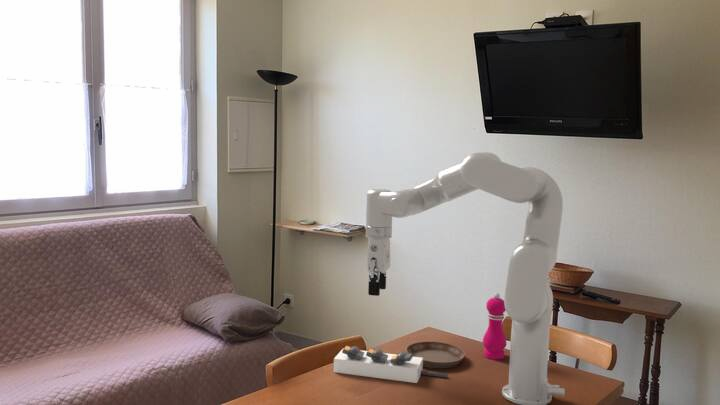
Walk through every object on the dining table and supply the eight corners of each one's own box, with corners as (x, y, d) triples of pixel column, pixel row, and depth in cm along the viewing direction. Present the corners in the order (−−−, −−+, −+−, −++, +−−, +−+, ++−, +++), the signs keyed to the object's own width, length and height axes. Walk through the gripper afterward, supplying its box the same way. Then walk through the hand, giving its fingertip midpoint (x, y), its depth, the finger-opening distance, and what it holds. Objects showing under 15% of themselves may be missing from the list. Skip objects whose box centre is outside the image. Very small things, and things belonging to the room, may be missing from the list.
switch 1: (362, 358, 176) (365, 349, 176) (359, 362, 173) (362, 354, 172) (344, 351, 177) (347, 342, 177) (341, 355, 174) (343, 346, 173)
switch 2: (413, 359, 172) (411, 350, 172) (411, 363, 168) (408, 354, 168) (394, 362, 174) (392, 353, 173) (391, 366, 170) (389, 357, 170)
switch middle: (386, 361, 174) (389, 352, 174) (383, 365, 171) (386, 357, 170) (368, 353, 175) (370, 345, 175) (365, 358, 172) (367, 349, 171)
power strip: (449, 374, 174) (449, 360, 174) (444, 386, 166) (445, 371, 165) (342, 361, 183) (343, 347, 182) (333, 372, 174) (333, 357, 174)
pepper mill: (506, 361, 186) (509, 296, 184) (481, 359, 187) (484, 295, 185) (505, 353, 193) (508, 291, 191) (482, 351, 194) (484, 289, 192)
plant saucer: (463, 352, 193) (464, 343, 193) (465, 373, 176) (465, 363, 176) (407, 348, 196) (408, 339, 196) (403, 369, 179) (403, 358, 178)
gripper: (384, 237, 168) (382, 300, 170) (397, 228, 185) (396, 286, 187) (358, 235, 170) (356, 298, 172) (373, 227, 187) (372, 284, 189)
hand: (377, 291), depth 179 cm, fingers open, 7 cm apart
